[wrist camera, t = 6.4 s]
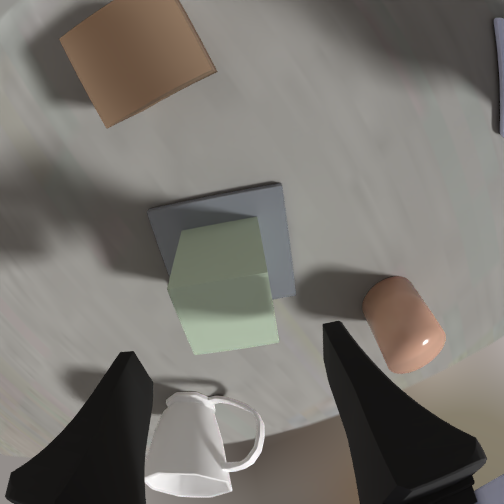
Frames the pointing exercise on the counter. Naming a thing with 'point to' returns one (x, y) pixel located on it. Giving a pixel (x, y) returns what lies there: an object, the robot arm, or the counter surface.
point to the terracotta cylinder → (402, 325)
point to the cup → (194, 448)
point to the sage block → (223, 287)
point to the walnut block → (135, 56)
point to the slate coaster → (231, 209)
